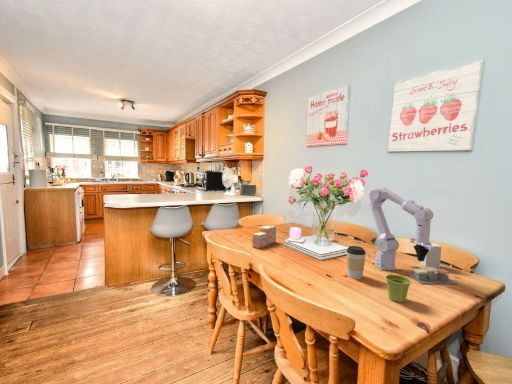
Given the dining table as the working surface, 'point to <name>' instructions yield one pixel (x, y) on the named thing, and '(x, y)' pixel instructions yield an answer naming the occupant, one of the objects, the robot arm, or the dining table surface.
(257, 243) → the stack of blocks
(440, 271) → the key terracotta
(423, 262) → the supplement box
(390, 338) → the dining table surface
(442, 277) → the keypad base
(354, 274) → the coffee cup
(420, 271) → the key sage
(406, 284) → the plant pot
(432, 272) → the key cream
